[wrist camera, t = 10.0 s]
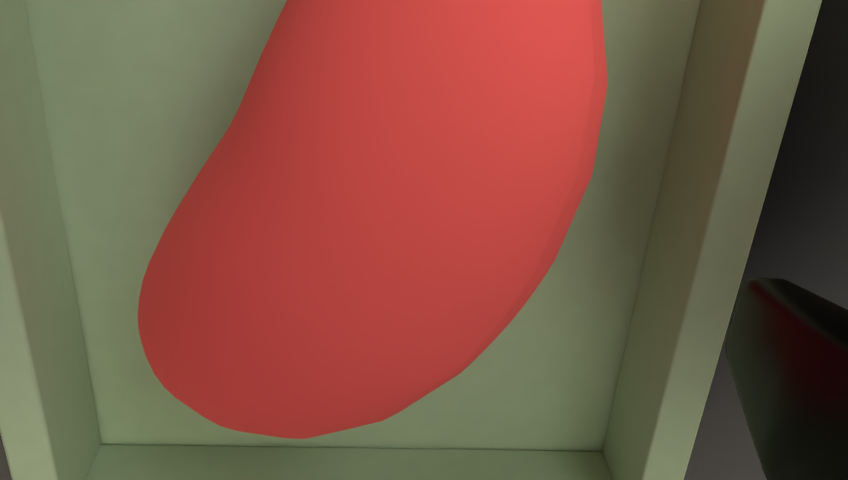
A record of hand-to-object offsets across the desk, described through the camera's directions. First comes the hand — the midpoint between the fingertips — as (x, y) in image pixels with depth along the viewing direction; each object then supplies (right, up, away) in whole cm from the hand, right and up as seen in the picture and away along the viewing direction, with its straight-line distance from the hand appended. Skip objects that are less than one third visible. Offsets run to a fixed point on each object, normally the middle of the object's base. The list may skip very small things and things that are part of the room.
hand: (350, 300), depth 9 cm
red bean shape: (0, +2, +5) cm, 6 cm away
